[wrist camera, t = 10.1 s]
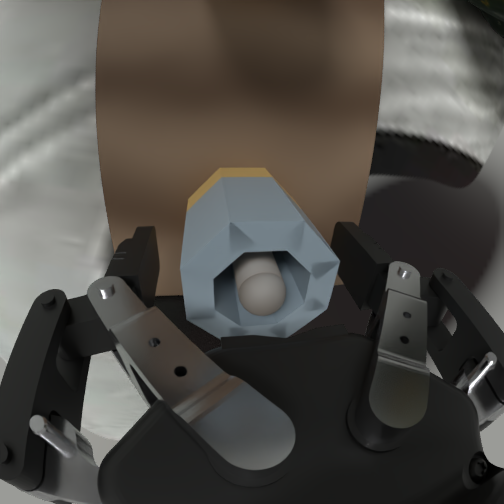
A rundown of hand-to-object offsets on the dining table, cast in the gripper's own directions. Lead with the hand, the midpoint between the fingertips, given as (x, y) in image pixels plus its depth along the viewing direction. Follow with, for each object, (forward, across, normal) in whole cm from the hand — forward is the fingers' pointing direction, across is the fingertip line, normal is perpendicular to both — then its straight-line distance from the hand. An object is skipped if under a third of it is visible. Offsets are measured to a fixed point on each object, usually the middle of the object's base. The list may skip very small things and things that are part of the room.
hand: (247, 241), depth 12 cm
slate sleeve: (+3, 0, 0) cm, 3 cm away
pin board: (+5, 0, -7) cm, 8 cm away
